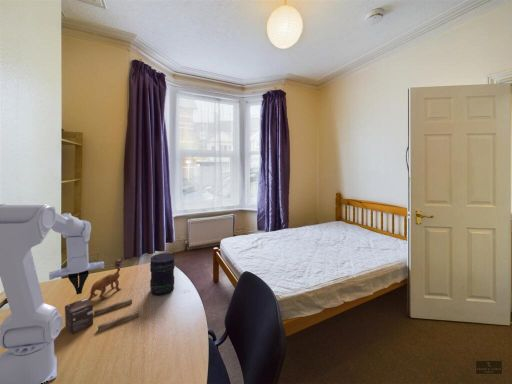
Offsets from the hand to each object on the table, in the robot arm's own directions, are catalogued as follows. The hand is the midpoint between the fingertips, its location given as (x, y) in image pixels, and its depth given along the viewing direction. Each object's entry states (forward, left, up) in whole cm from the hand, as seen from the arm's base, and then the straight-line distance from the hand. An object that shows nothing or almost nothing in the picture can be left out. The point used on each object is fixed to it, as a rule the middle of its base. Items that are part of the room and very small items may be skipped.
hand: (79, 292), depth 75 cm
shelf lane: (+10, -6, -9) cm, 15 cm away
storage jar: (+29, +1, -10) cm, 30 cm away
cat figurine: (+8, +11, -10) cm, 17 cm away
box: (0, -4, -10) cm, 11 cm away
